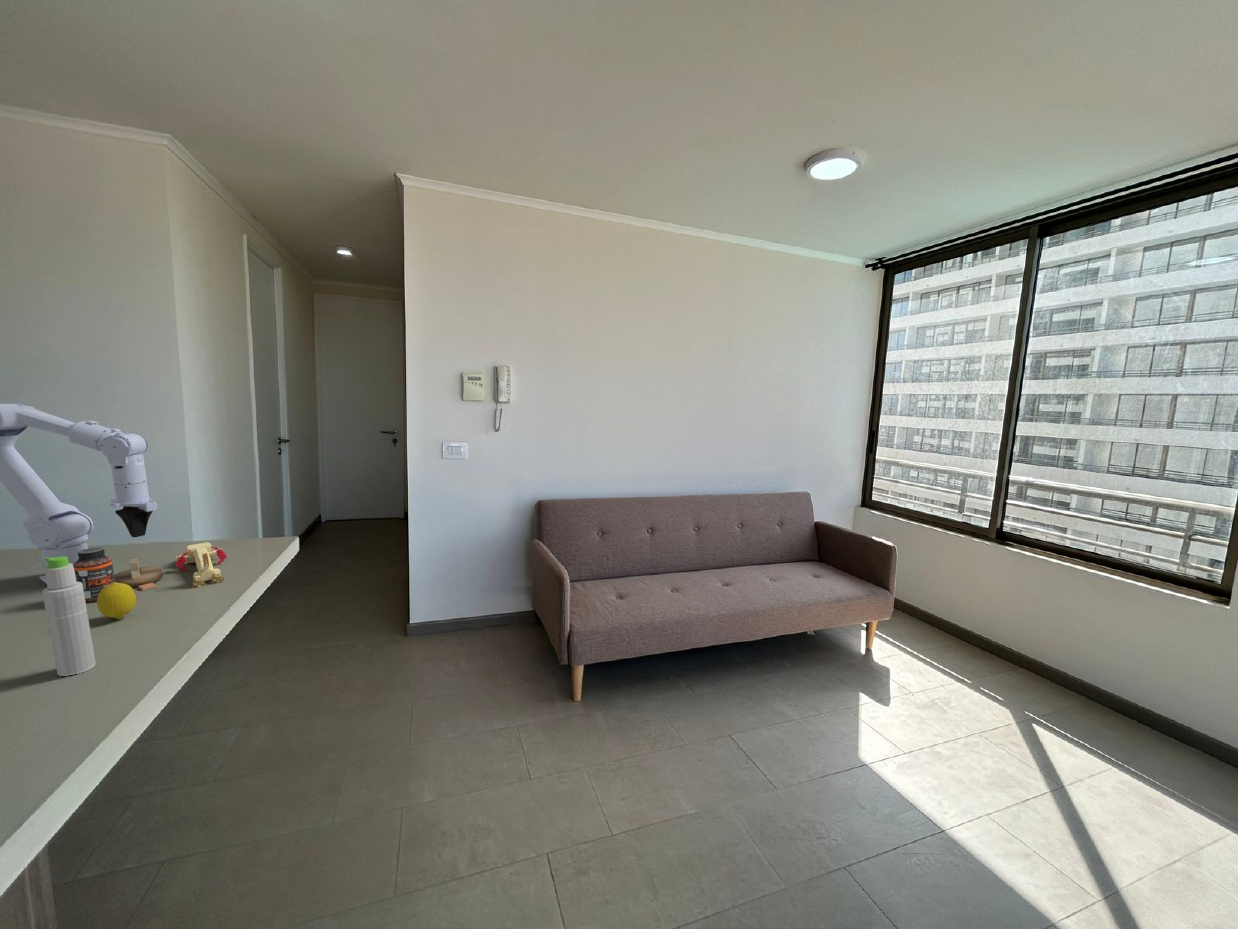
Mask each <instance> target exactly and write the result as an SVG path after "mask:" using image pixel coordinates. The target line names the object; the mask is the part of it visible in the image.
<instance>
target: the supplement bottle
mask: <svg viewBox="0 0 1238 929" xmlns="http://www.w3.org/2000/svg"><path fill="white" fill-rule="evenodd" d="M78 557H79V559H78V560H77V561H76V562H75V563H74V564H73V568H74V571H75V576H76V582H81V583H82V585H83V591H84V597H85V602H86V603H93V602H97V598H98V595H99V593H100V591H101V590H102V589H104V588H105V587H106V586H108V585H110V584H111V583H113V582H115V578H114V575H115V571H114V564H113V560H112V558H111V557H110V556H109V555H106V553H105V548H104V547H100V546H99V547H98V546H97V547H88V549H84V550H81V551H79V552H78Z"/></svg>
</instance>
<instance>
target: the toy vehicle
mask: <svg viewBox="0 0 1238 929" xmlns="http://www.w3.org/2000/svg"><path fill="white" fill-rule="evenodd" d="M217 557H218V561H217V565H221V564H222V563H224V562H225V560H226V558H227V554H226V552H225V551H223V549H222V548H218V546H217V547H215V546H213V547H212V544H211V542H207V541H206V542H202V543H195V544H189V545H187V546H186V547H185V552H184V553H182V554H180V555H178V556H175V558H176V561H175V565H176V567H177V568H179V569H180V570H183V571H185V572H186V571H189V570H190V569H188V568H187V566H185V564H186V565H187V564H188V563H190V564H193V563H195V564H196V569H197V572H194V573H193V575H192V580H193V581H192V587H196V588H199V587H198V586H201V585H205V584H206V583H205V582H208V581H212V583H216V582H220V581H221V582H223V581H224V580H225V577H224V575H222V572H221V569H219V568H214V566H213V563H212V559H216V558H217ZM221 582H220V583H221ZM201 587H202V586H201Z"/></svg>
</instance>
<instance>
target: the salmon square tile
mask: <svg viewBox="0 0 1238 929" xmlns="http://www.w3.org/2000/svg"><path fill="white" fill-rule="evenodd" d="M153 588H154V589H155V588H157V584H155V582H153V583H148V584H144V585H140V586H138V589H139V590H141V591H146V590H151V589H153Z"/></svg>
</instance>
